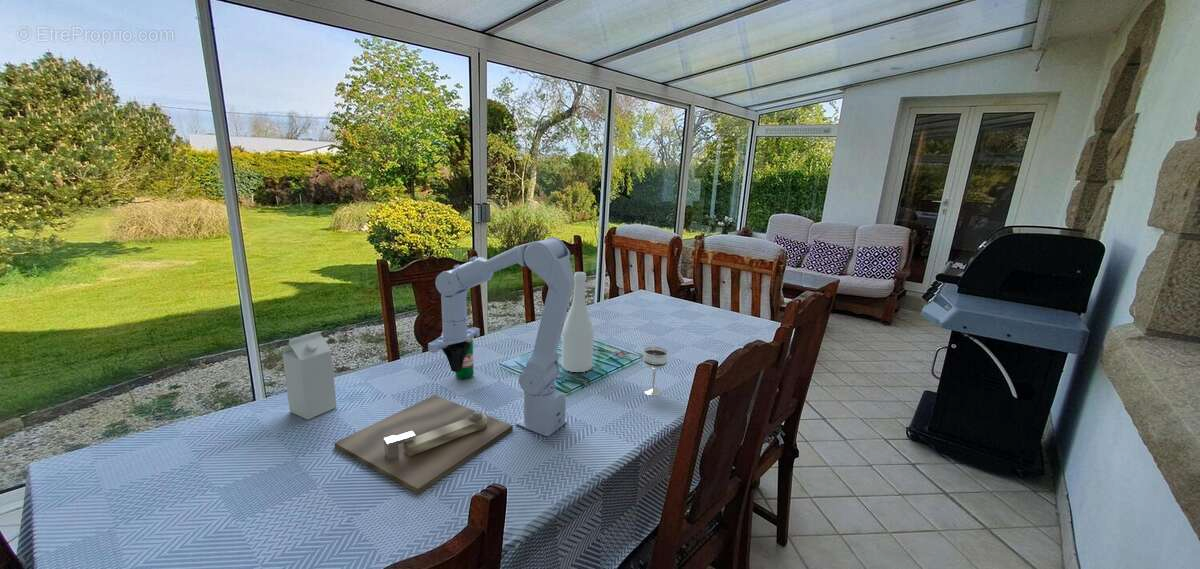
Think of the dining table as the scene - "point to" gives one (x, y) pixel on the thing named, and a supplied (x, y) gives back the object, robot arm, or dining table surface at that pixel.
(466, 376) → the soda can
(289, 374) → the milk carton
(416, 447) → the swing bar
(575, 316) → the wine bottle
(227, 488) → the dining table surface
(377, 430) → the base board
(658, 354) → the wineglass
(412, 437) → the block
